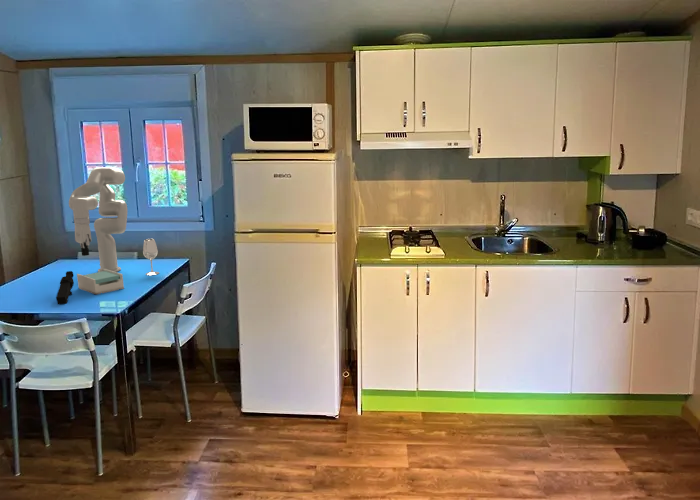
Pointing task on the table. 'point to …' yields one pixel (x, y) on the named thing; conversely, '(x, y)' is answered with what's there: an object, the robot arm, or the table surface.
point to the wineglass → (150, 253)
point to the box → (100, 284)
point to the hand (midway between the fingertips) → (85, 255)
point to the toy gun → (65, 288)
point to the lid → (102, 276)
